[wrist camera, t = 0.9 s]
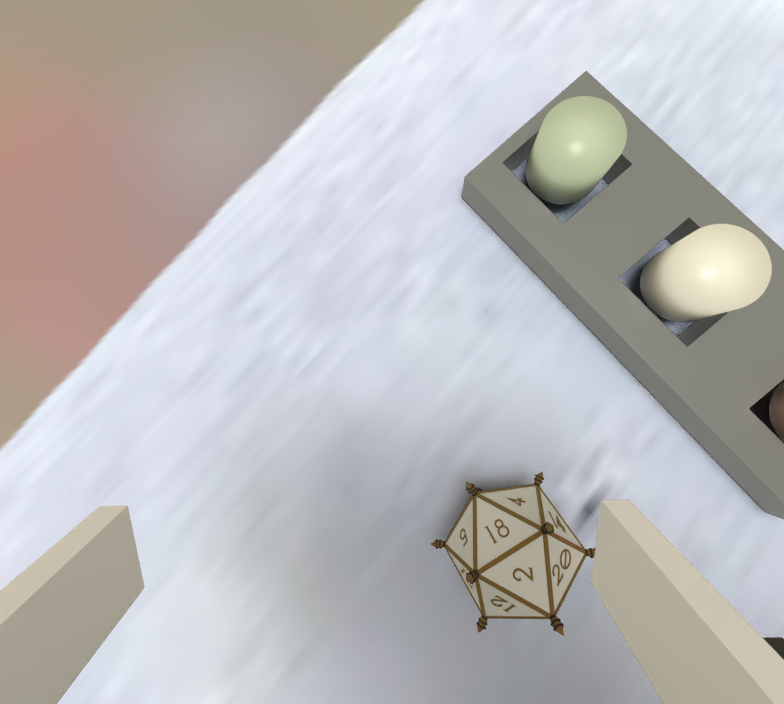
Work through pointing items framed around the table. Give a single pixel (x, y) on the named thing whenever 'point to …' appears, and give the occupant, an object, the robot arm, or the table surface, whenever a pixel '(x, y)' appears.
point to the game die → (515, 553)
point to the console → (626, 312)
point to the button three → (777, 410)
